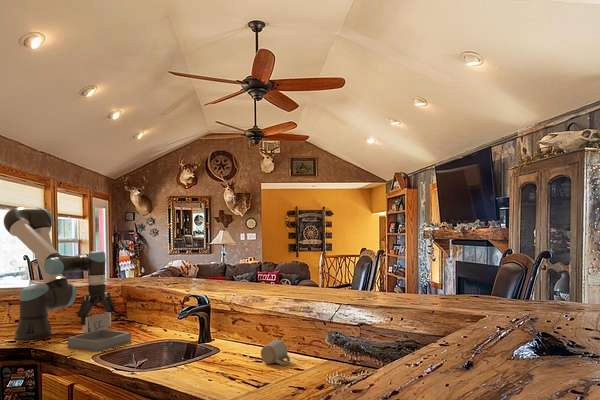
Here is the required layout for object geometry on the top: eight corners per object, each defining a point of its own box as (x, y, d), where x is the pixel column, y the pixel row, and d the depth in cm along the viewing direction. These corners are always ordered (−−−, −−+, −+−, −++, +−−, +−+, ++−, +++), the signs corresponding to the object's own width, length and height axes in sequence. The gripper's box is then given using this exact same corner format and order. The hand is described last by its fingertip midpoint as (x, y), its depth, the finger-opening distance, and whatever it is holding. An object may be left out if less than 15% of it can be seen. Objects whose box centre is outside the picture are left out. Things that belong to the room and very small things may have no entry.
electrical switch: (92, 336, 219) (91, 316, 220) (84, 336, 221) (83, 316, 222) (108, 332, 227) (107, 313, 228) (101, 332, 230) (100, 313, 230)
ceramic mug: (259, 363, 177) (259, 342, 177) (271, 357, 184) (272, 337, 184) (282, 368, 171) (282, 347, 171) (294, 362, 178) (294, 342, 178)
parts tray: (67, 347, 201) (67, 337, 201) (101, 337, 217) (101, 328, 217) (97, 352, 193) (98, 342, 193) (130, 341, 209) (130, 332, 210)
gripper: (80, 287, 212) (80, 335, 211) (122, 281, 235) (122, 324, 234) (68, 287, 216) (68, 333, 215) (111, 280, 238) (111, 322, 237)
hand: (97, 328), depth 224 cm, fingers open, 13 cm apart
